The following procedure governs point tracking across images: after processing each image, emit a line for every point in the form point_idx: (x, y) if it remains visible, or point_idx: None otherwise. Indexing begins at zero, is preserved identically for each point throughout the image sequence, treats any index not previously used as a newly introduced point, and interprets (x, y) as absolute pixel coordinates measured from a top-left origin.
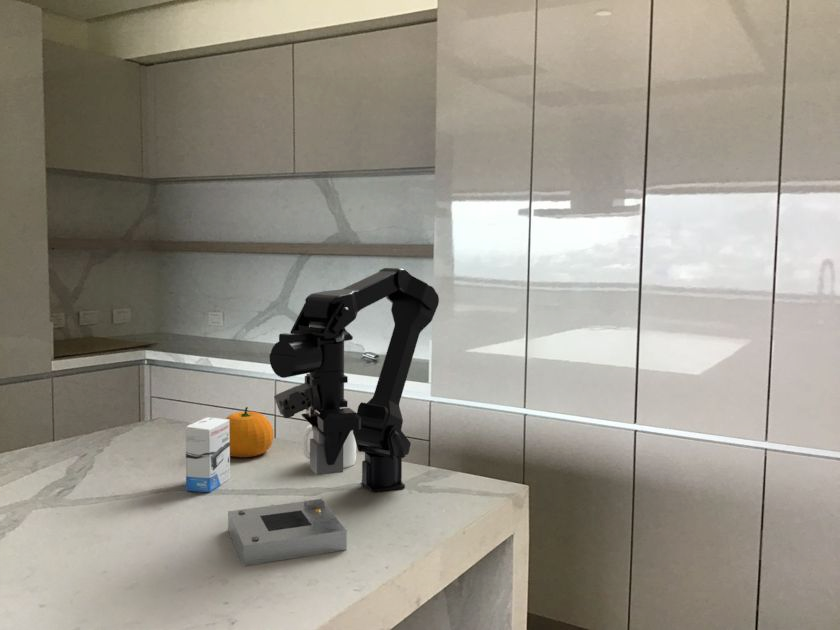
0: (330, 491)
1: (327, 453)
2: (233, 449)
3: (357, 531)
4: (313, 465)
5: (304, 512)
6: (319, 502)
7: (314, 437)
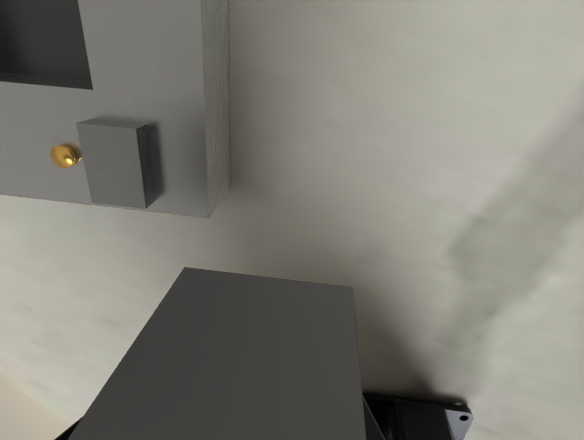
0: (454, 305)
1: (65, 437)
2: None
3: (80, 240)
4: (258, 301)
5: (63, 95)
6: (100, 185)
7: None
